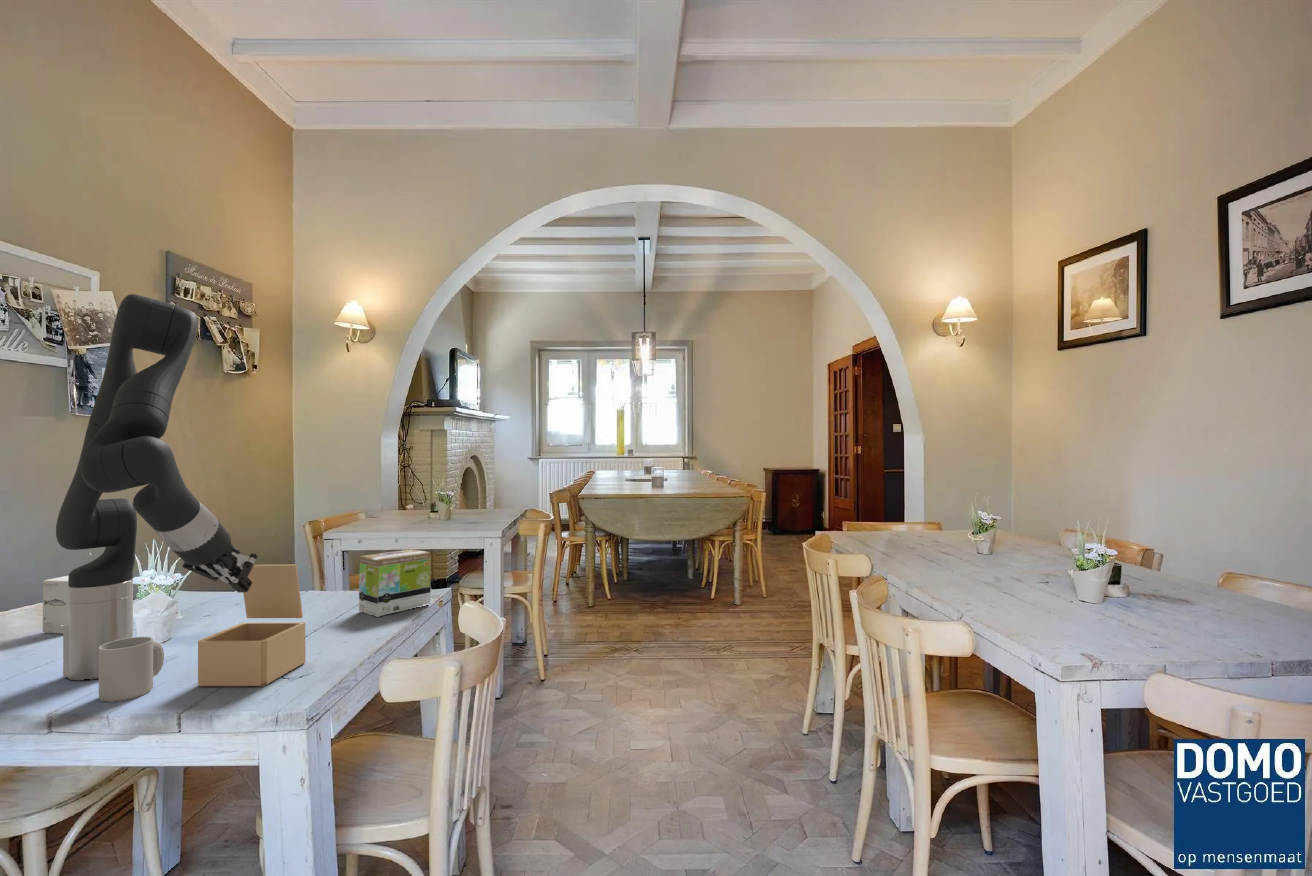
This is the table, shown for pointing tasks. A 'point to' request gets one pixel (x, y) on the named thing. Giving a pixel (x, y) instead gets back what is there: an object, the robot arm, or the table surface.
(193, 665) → the table surface
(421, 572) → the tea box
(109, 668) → the cup
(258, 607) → the flap
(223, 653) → the carton
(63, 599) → the supplement box
